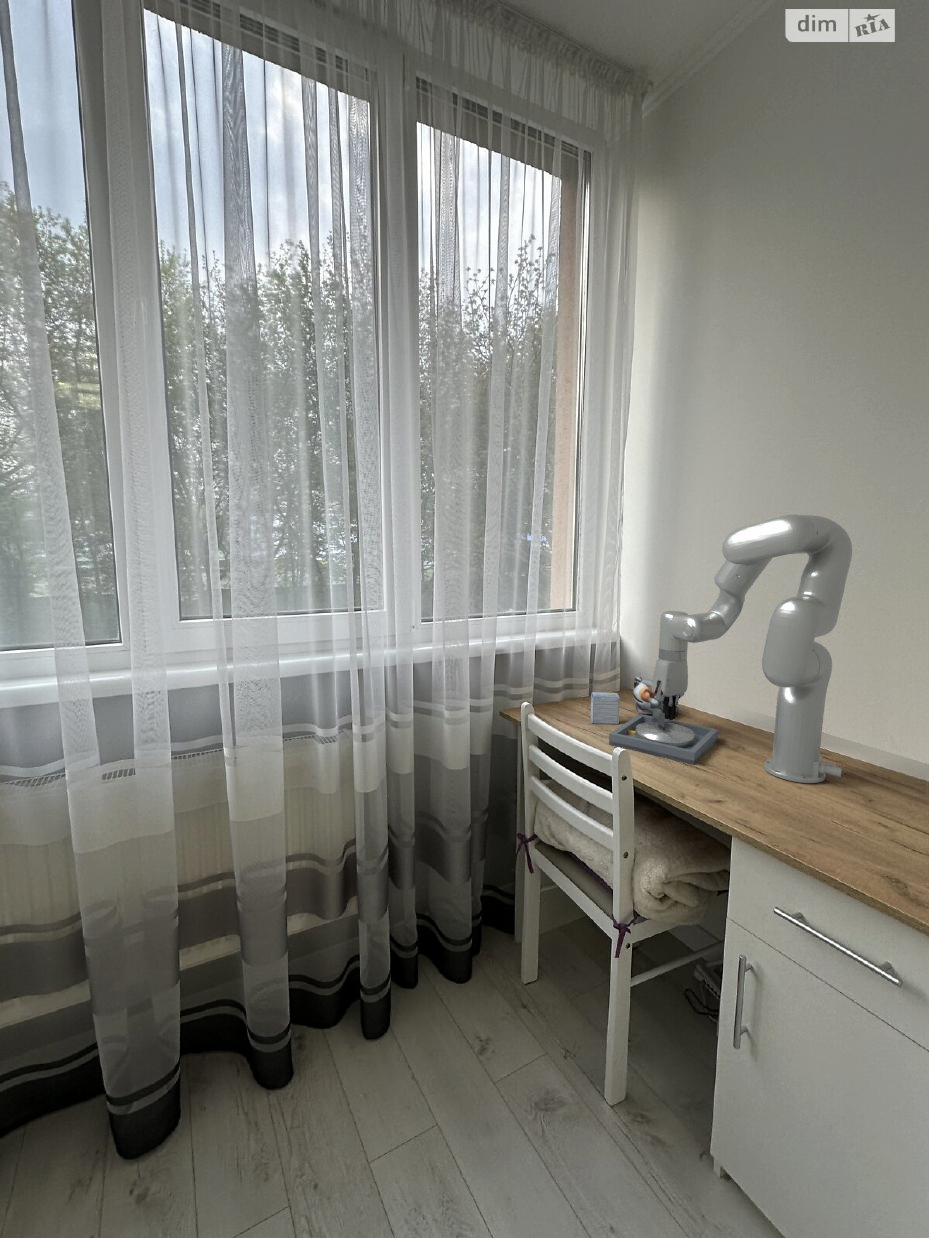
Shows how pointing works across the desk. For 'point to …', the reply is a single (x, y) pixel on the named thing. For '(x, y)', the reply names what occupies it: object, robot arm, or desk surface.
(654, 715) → the dial
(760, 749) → the desk surface
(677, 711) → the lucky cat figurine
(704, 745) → the square tray
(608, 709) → the medicine box
